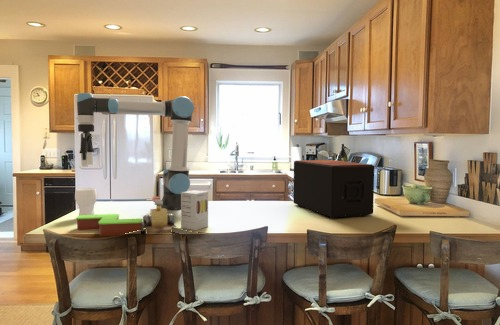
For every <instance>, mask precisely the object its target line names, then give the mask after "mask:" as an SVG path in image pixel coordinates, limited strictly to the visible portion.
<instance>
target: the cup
mask: <svg viewBox="0 0 500 325" xmlns="http://www.w3.org/2000/svg"><path fill="white" fill-rule="evenodd" d="M97 198H98V192H97V188H95V187H81V188H76V189H75V192H74V200H75V202H76V204H77V206H78V210H79V212H78V216H79V215H95V210H94V209H95V204H96V203H97V200H98V199H97Z"/></svg>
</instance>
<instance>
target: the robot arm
mask: <svg viewBox="0 0 500 325" xmlns="http://www.w3.org/2000/svg"><path fill="white" fill-rule="evenodd" d="M76 105H77V106H76V110H77V116H76V120H77V123H78V125H77V130H78V132H79V133H80V149H79V151H78V152H79V154H81V167H82V168H83V167H84V168H85V167H88V166H89V165H94V158H93V157H94V156H93V153H94V152H95V150H94V146H93V139H92V138H93V136H92V133H93V132H95V125H94V123H95V116H94V115H95V114H94V113H99V114H102V115H106V116H107V115H133V116H134V115H135V116H136V115H139V116H142V115H143V116H162V117H164V118H170V122H171V123H172V140H171V156H170V157H171V158H170V159H171V161H170V167H169V168H168V169H164V170H163V172H162V180H163V182H162V184H163V186H162V187H163V190H162V192H163V195H162V198H161V200H162V201H163V204H162V205H161V208H166V210H173V211H174V210H181V192H187V191H189V189H190V186H191V180H190V177H189V176H190V170H189V168H188V167H187V163H188V162H187V161H188V145H189V124H191V123H192V117H193V114H194V111H195V105H194V102H193V101H192V99H190V98H189V97H187V96H184V95H183V96H178V97H176V98H174V99H169V100H166V99H165V100H162V101H141V100H139V101H133V100H118V99H117V98H112V97H94V94H93V93H88V92H80V93H77V95H76ZM81 132H82V133H81Z"/></svg>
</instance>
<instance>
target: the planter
mask: <svg viewBox="0 0 500 325" xmlns="http://www.w3.org/2000/svg"><path fill="white" fill-rule="evenodd" d="M75 218H76V222H77V223H76V225H77V226H76V227H77V229H76V230H77V231H87V230H89V231H90V230H95V231H96V230H99V232H98V233H99V236H101V237H103V236H104V237H107V236H121V235H120V234H125V233H129V232H133V231H137V230H141V229H142V230H143V226H142V221H143V218H120V214H118V213H110V214H109V213H108V214H107V213H106V214H94V215H79V214H78V216H76V217H75Z"/></svg>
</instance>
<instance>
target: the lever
mask: <svg viewBox="0 0 500 325" xmlns="http://www.w3.org/2000/svg"><path fill="white" fill-rule="evenodd" d="M152 202H153V203H154V205H155V206H156V205H162V204H163V201H162V199H161V197H160V196H152Z"/></svg>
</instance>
